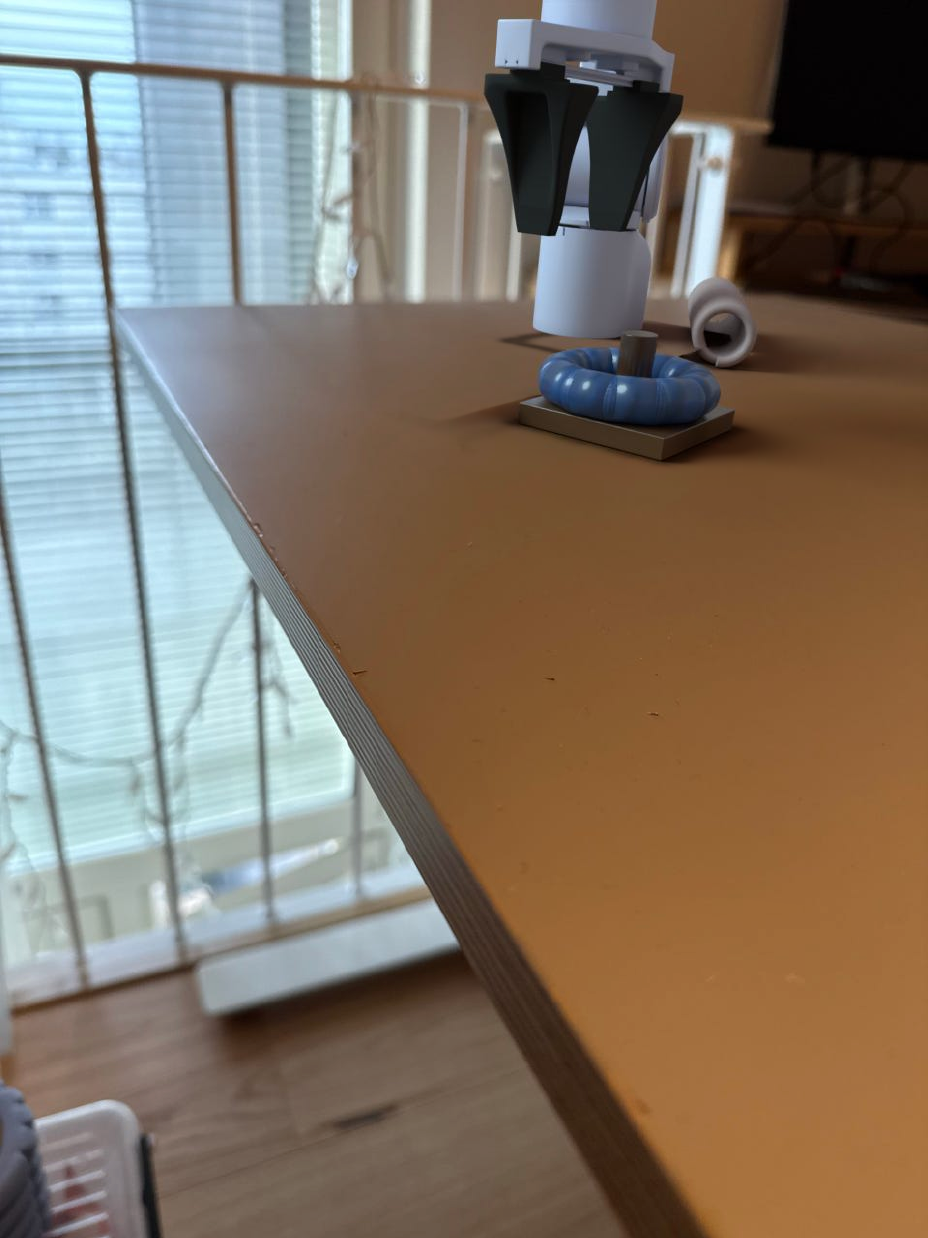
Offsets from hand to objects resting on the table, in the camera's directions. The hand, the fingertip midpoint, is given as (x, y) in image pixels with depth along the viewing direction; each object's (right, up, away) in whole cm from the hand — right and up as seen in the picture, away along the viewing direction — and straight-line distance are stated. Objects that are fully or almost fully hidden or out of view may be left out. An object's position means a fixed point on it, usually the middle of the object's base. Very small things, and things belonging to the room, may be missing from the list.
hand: (573, 232), depth 52 cm
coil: (+15, +1, +26) cm, 30 cm away
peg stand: (+3, -10, +1) cm, 11 cm away
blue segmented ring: (+3, -8, 0) cm, 9 cm away
